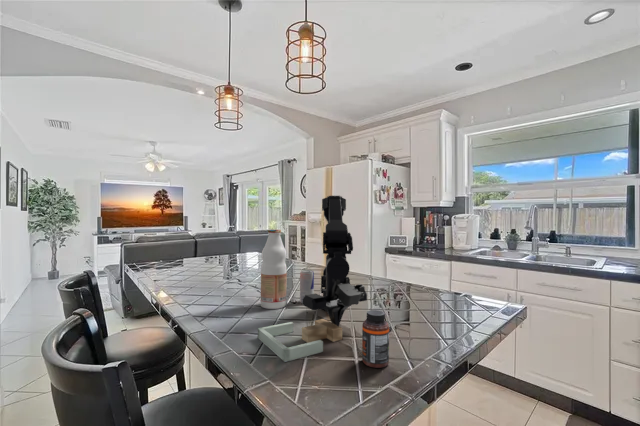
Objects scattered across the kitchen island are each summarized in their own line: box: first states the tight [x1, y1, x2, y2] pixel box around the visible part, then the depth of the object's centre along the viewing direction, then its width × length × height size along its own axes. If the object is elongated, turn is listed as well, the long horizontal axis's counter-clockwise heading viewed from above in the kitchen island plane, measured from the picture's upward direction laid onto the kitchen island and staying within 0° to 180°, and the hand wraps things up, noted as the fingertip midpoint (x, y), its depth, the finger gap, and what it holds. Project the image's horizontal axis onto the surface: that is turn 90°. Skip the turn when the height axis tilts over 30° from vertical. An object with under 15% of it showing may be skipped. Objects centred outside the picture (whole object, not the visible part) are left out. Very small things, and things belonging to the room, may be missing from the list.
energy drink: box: [299, 269, 315, 304], centre depth 118 cm, size 5×5×12 cm
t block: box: [301, 318, 343, 343], centre depth 83 cm, size 9×9×3 cm
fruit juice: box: [260, 229, 288, 310], centre depth 113 cm, size 9×9×28 cm
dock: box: [257, 321, 324, 363], centre depth 78 cm, size 10×16×2 cm, turn 33°
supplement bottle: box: [361, 309, 390, 369], centre depth 69 cm, size 6×6×11 cm
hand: (335, 328), depth 86 cm, fingers closed
